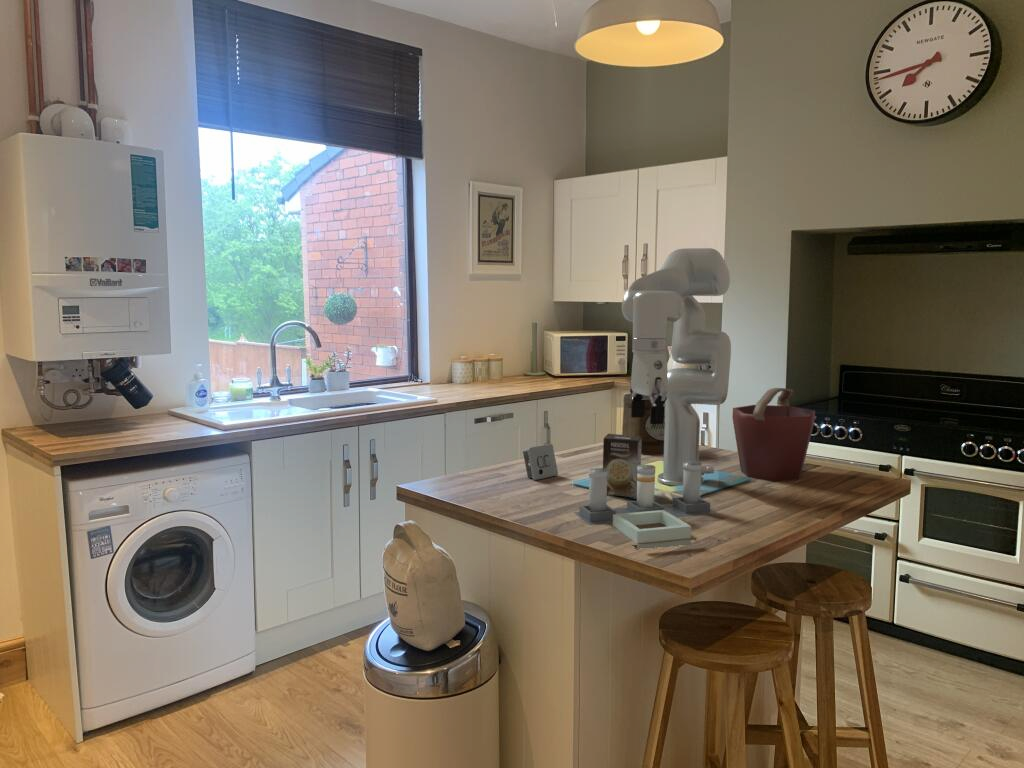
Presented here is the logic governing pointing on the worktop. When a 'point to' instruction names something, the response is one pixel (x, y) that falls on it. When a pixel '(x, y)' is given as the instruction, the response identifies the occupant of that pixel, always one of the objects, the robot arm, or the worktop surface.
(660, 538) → the tray
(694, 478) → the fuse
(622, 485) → the coffee box
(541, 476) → the electrical switch
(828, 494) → the worktop surface
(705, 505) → the fuse block
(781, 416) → the bucket
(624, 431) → the wooden container
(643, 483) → the cylinder
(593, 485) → the fuse
